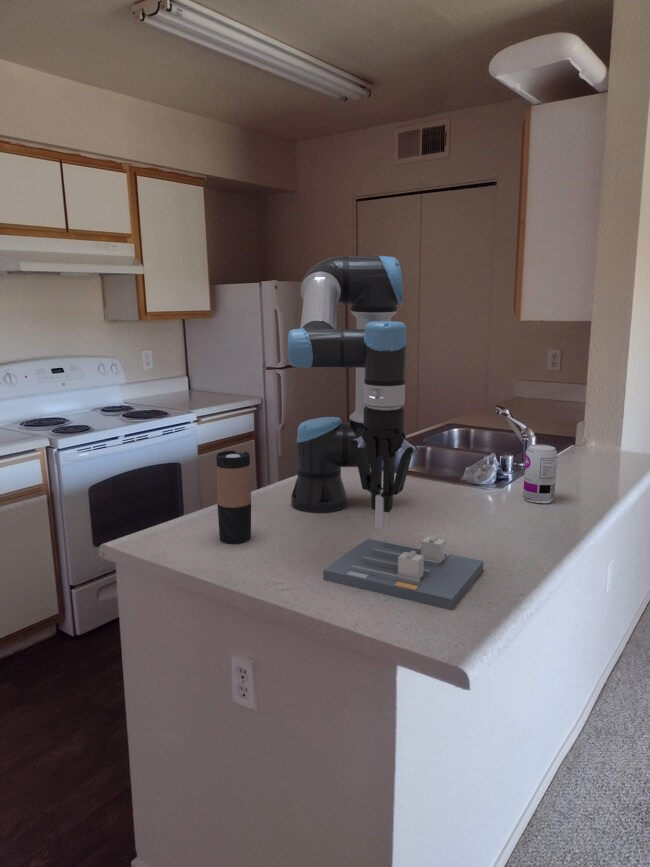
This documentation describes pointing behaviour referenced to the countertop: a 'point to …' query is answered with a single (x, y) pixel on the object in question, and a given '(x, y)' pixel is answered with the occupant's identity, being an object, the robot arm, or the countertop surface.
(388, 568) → the switch board
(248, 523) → the travel mug
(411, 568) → the tab
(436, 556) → the tab
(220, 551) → the countertop surface
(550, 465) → the supplement can
